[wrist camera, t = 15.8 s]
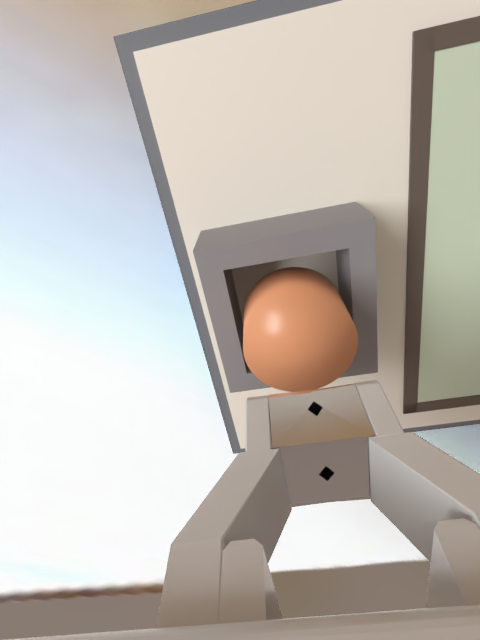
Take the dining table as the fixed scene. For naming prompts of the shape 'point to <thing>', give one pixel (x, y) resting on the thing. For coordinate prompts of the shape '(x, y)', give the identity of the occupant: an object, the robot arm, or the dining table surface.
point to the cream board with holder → (325, 182)
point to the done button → (297, 330)
